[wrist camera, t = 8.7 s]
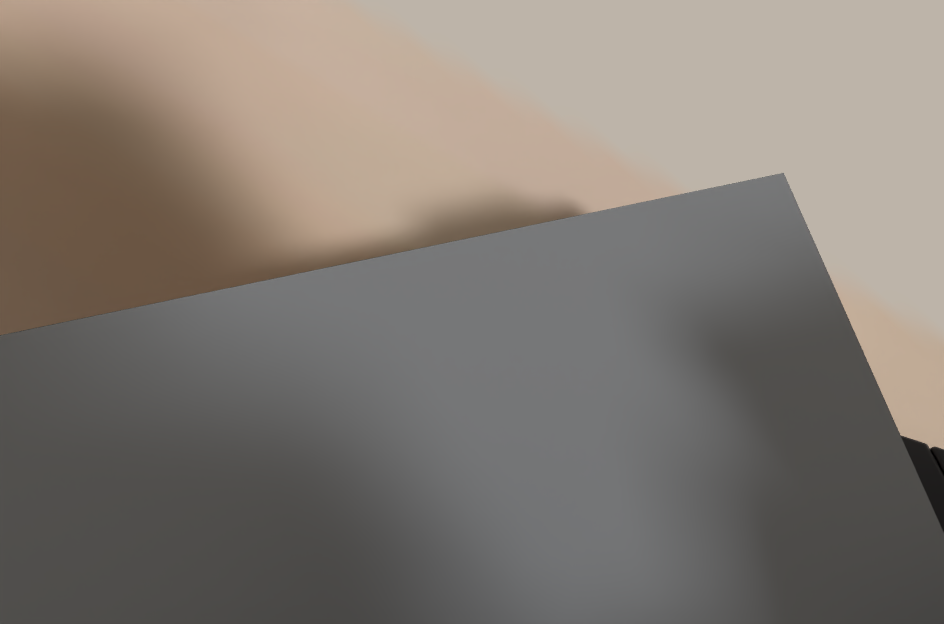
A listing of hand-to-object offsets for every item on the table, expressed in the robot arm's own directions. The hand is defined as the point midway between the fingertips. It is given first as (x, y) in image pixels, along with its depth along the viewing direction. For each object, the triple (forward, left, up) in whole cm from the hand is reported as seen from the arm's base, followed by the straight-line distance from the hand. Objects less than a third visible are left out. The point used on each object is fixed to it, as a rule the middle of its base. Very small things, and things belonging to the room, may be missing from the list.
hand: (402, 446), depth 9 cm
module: (0, -1, -7) cm, 7 cm away
